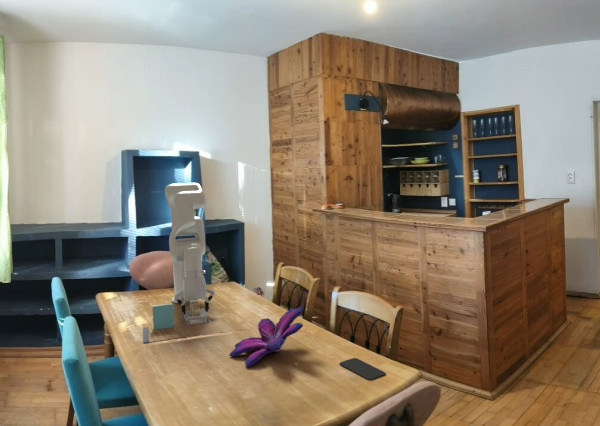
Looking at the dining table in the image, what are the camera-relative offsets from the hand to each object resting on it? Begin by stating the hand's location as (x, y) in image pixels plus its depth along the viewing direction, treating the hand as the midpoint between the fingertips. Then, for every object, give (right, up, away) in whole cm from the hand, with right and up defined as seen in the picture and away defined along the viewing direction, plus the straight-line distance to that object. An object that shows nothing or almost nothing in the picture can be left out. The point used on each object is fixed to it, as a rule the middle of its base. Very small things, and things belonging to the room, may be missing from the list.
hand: (195, 312), depth 198 cm
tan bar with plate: (0, -2, 0) cm, 2 cm away
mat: (-8, -5, -18) cm, 20 cm away
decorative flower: (+35, -5, -41) cm, 55 cm away
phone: (+66, -6, -57) cm, 87 cm away
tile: (-10, +1, -14) cm, 17 cm away
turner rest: (0, -3, 0) cm, 3 cm away
